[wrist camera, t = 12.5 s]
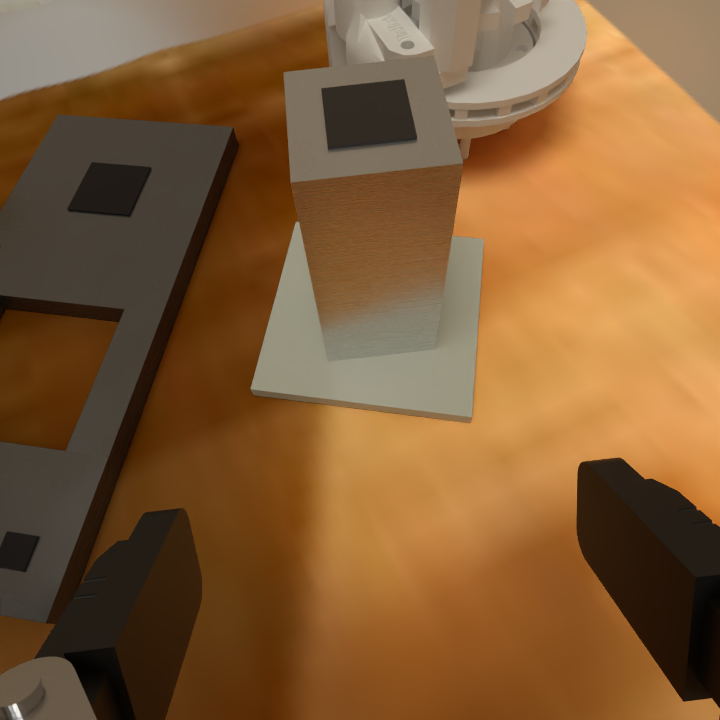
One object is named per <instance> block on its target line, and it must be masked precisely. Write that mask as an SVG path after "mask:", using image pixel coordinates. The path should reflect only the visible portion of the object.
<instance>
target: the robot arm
mask: <svg viewBox="0 0 720 720" xmlns="http://www.w3.org/2000/svg"><path fill="white" fill-rule="evenodd" d="M577 536H578V541H579V545H580V548H581V551H582V554H583V556H584V558H585V560H586V561H587V563H588V564H589V566H590V567H591V568H592V570H593V571H594V573H595V574H596V576H597V577H598V579H599V580H600V582H601V583H602V584H603V586H604V587H605V589H606V590H607V592H608V593H609V595H610V596H611V597H612V599H613V600H614V602H615V603H616V605H617V606H618V608H619V609H620V610H621V612H622V613H623V615H624V616H625V618H626V619H627V621H628V622H629V624H630V625H631V626H632V628H633V629H634V631H635V632H636V634H637V635H638V637H639V638H640V639H641V641H642V642H643V644H644V645H645V647H646V648H647V650H648V651H649V652H650V654H651V655H652V657H653V658H654V660H655V661H656V663H657V664H658V665H659V667H660V668H661V670H662V671H663V673H664V674H665V676H666V677H667V679H668V680H669V681H670V683H671V684H672V686H673V687H674V689H675V690H676V692H677V693H678V694H679V696H680V697H681V699H682V700H683V702H684V701H692V700H700V699H708V698H712V699H713V700H714V701H715V703H716V704H717V705H718V707H719V708H720V527H719V526H718V525H716V524H712V520H711V519H709V518H708V517H707V516H706V515H705V514H704V513H703V512H701V511H700V510H698V511H697V509H696V506H694V505H693V504H692V503H691V502H690V501H689V500H688V499H686V498H685V497H684V496H683V495H682V494H681V493H680V492H678V491H677V490H675V489H672V488H670V487H668V486H666V485H664V484H662V483H660V482H658V481H656V480H654V479H644V478H643V477H642V476H641V475H640V474H638V473H637V472H636V471H635V470H634V469H633V468H632V467H631V466H630V465H629V464H628V463H626V462H625V461H624V460H623V459H621V458H610V459H602V460H593V461H585V462H582V463H580V465H579V468H578V479H577ZM73 597H74V599H73V600H72V601H70V602H69V604H68V606H67V607H66V609H65V610H64V612H63V614H62V615H61V617H60V618H59V620H58V622H57V623H56V625H55V626H54V628H53V630H52V631H51V633H50V634H49V636H48V638H47V639H46V641H45V642H44V644H43V646H42V647H41V649H40V650H39V652H38V653H37V655H36V657H35V658H34V659H33V660H30V661H27V662H24V663H22V664H20V665H17V666H15V667H13V668H11V669H10V670H8V671H6V672H4V673H3V674H1V675H0V720H165V718H166V715H167V712H168V708H169V705H170V702H171V699H172V696H173V692H174V689H175V686H176V683H177V679H178V676H179V673H180V670H181V666H182V663H183V660H184V657H185V653H186V650H187V647H188V644H189V641H190V637H191V634H192V631H193V628H194V624H195V621H196V618H197V615H198V611H199V608H200V604H201V598H202V576H201V570H200V566H199V561H198V557H197V553H196V548H195V544H194V539H193V535H192V530H191V526H190V522H189V518H188V515H187V512H186V511H185V509H183V508H179V509H171V510H163V511H154V512H146V513H144V514H143V515H142V517H141V518H140V520H139V522H138V524H137V525H136V527H135V529H134V531H133V532H132V534H131V536H130V538H129V539H128V540H124V541H118V542H116V543H115V544H114V545H113V546H112V547H111V548H109V549H108V550H107V551H106V552H105V553H104V554H102V555H101V556H100V557H99V558H98V559H97V560H96V561H95V563H94V564H93V566H92V567H91V569H90V571H89V572H88V574H87V575H86V577H85V579H84V583H82V584H81V585H80V587H79V588H78V590H77V591H76V593H75V595H74V596H73ZM719 720H720V716H719Z"/></svg>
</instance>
